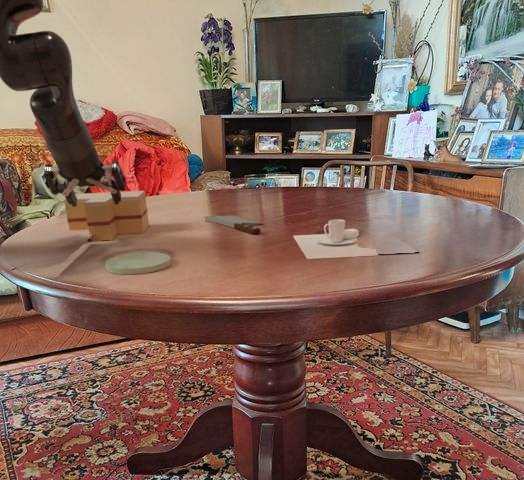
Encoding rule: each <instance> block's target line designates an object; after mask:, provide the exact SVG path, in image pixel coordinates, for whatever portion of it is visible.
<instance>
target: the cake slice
mask: <svg viewBox="0 0 524 480" xmlns="http://www.w3.org/2000/svg"><path fill="white" fill-rule="evenodd" d="M84 205H85V211H86V217H87V225H88V228H89V229H88V234H89V236H90V238H89V240H90V242H103V241H102V240H109V241H113V240H114V239H115V238H116V237H117V235H118V234H117V230H116V223H115V216H114V210H113V204H112V198H94V199H89V200H88V201H86V202H84ZM115 236H116V237H115Z"/></svg>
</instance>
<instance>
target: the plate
mask: <svg viewBox="0 0 524 480" xmlns="http://www.w3.org/2000/svg"><path fill="white" fill-rule="evenodd" d="M171 264H172V259H171V256H170V255H168V254H166V253H162V252H152V251H151V252H149V251H147V252H134V253H126V254H122V255H117V256H113V257H111V258H108V259H107V260H106V261H104V268H105V271H106V272H108V273H111V274H115V275H140V274H141V275H142V274H149V273H154V272H158V271H162V270H164V269H166V268H168V267H170V266H171Z"/></svg>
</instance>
